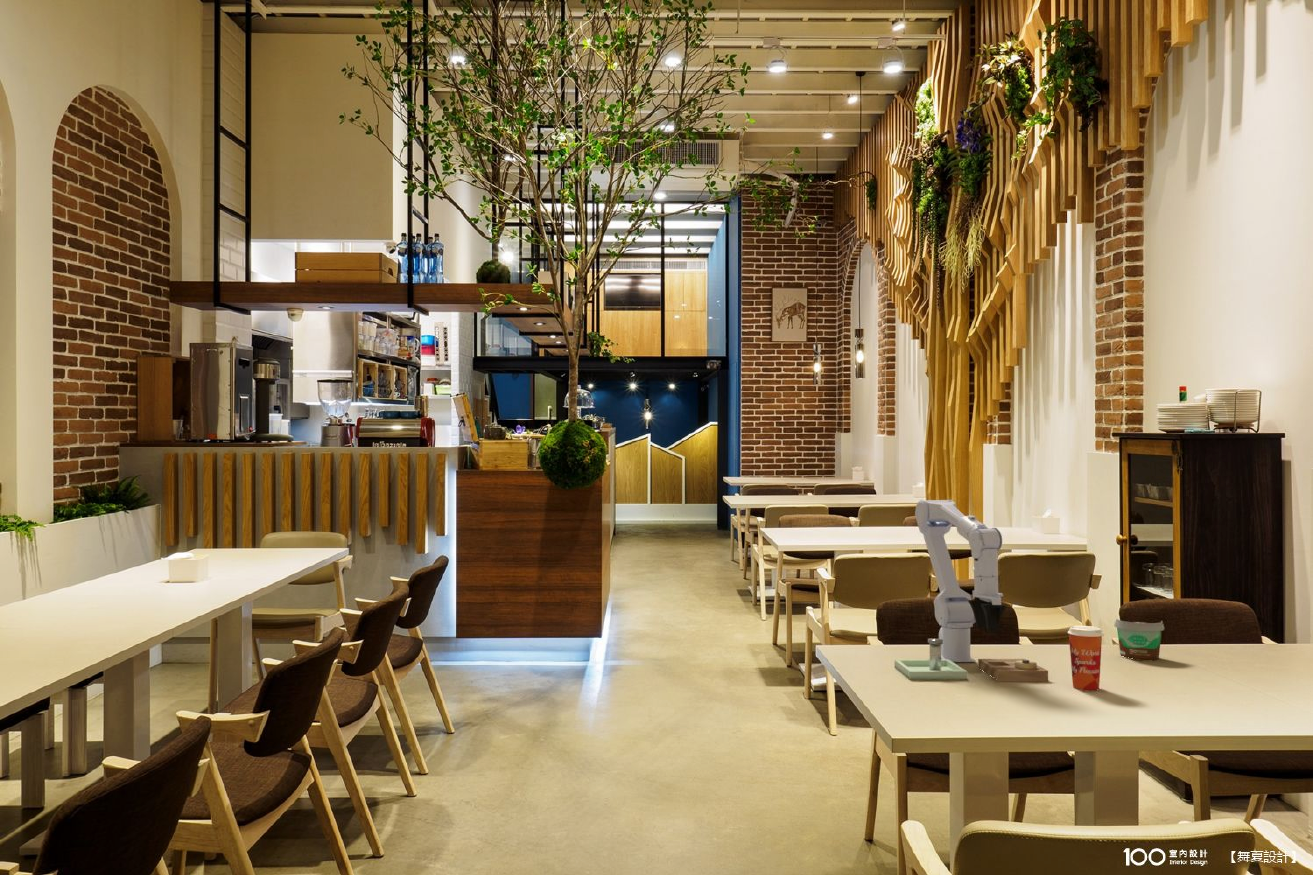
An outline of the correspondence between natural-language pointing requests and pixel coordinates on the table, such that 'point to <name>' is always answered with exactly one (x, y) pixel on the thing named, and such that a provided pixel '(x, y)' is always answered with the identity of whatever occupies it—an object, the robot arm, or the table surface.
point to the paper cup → (1085, 656)
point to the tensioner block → (1013, 669)
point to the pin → (935, 654)
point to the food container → (1139, 639)
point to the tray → (921, 671)
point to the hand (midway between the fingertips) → (987, 630)
